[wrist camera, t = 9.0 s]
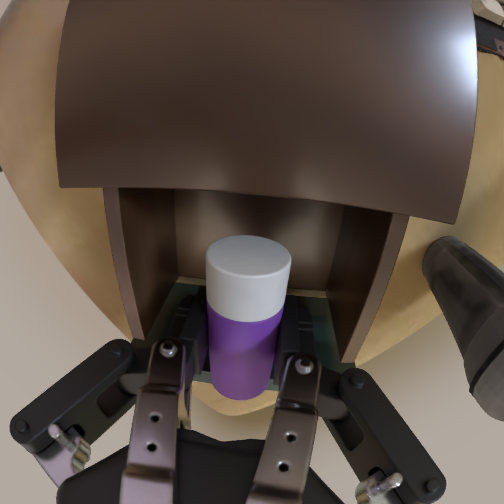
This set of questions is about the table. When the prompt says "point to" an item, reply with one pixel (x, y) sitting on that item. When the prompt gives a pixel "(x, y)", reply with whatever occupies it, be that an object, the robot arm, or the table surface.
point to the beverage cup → (472, 315)
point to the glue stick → (244, 311)
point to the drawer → (262, 225)
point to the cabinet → (272, 99)
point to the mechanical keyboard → (489, 25)
